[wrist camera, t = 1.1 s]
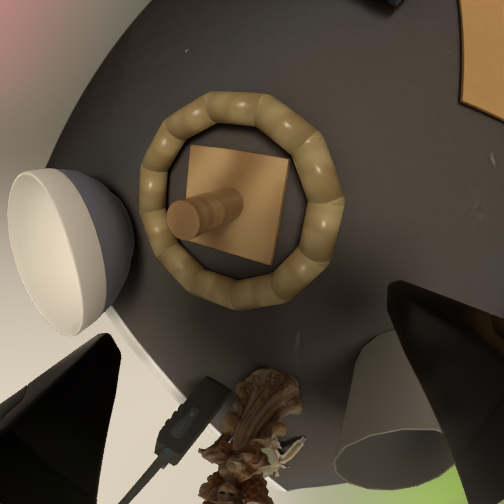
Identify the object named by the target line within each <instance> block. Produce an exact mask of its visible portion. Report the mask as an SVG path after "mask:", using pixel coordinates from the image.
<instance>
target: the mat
mask: <svg viewBox="0 0 504 504" xmlns="http://www.w3.org/2000/svg"><path fill="white" fill-rule="evenodd" d="M459 9H460V20H461V37H462V79H461V97H460V102H461V103H463V104H466V105H468V106H471V107H473V108H476V109H478V110H480V111H482V112H485V113H487V114H489V115H491V116H493V117H495V118H497V119H500V120H502V121H504V0H459Z"/></svg>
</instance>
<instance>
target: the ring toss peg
mask: <svg viewBox="0 0 504 504" xmlns="http://www.w3.org/2000/svg"><path fill="white" fill-rule="evenodd" d="M290 163H291V159H288V158H282V157H277V156H271V155H265V154H259V153H253V152H247V151H240V150H233V149H225V148H218V147H210V146H201V145H191V148H190V158H189V168H188V179H187V191H186V198H185V199H181V200H178V201H175V202H174V203H172V204H171V206H170V207H169V209H168V212H167V224H168V227H169V229H170V231H171V232H172V234H173V235H174V236H175V237H177V238H179V239H181V240H188V241H191V242H195V243H198V244H201V245H204V246H208V247H211V248H214V249H218V250H221V251H224V252H227V253H231V254H234V255H237V256H241V257H244V258H247V259H251V260H254V261H257V262H261V263H264V264H267V265H272V264H273V261H274V256H275V250H276V245H277V239H278V233H279V228H280V222H281V216H282V210H283V205H284V199H285V193H286V187H287V181H288V175H289V169H290Z"/></svg>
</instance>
